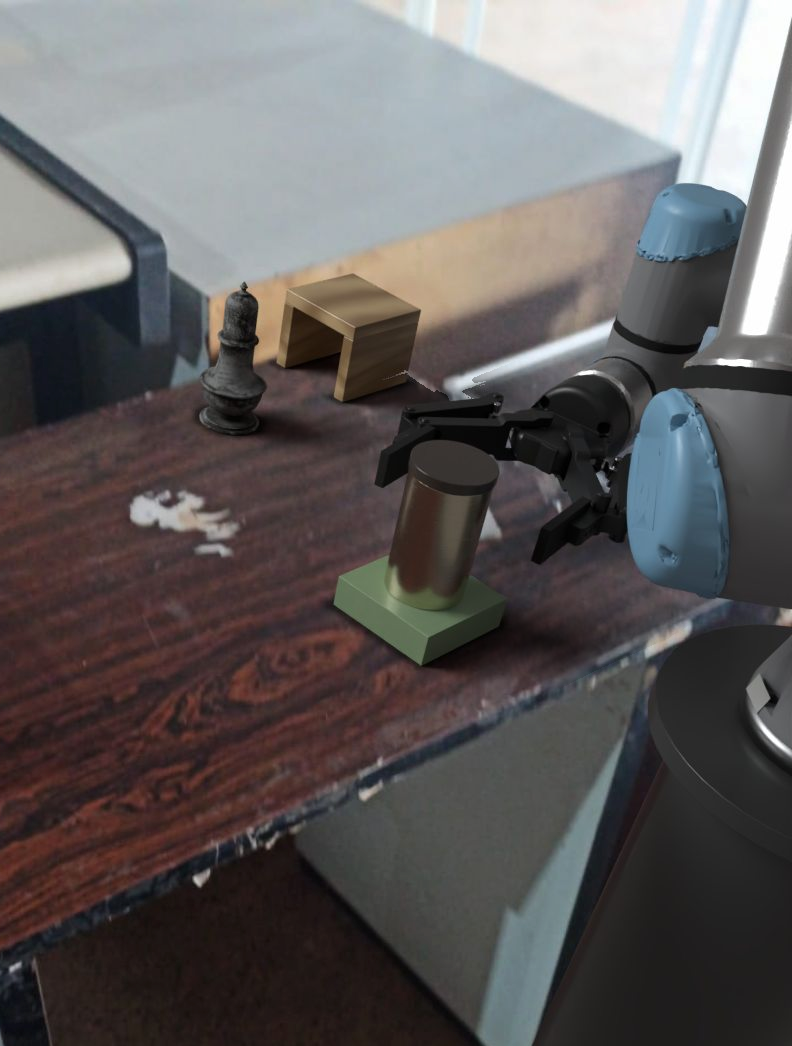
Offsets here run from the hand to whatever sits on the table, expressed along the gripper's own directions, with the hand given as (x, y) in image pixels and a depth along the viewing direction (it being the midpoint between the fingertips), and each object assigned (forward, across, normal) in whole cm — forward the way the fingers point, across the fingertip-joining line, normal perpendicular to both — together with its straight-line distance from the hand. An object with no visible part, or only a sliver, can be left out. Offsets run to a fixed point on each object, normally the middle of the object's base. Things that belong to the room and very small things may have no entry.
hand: (458, 507), depth 92 cm
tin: (+3, 0, -6) cm, 6 cm away
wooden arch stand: (-27, +27, -8) cm, 39 cm away
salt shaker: (-10, +28, -8) cm, 31 cm away
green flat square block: (+3, 0, -8) cm, 8 cm away
